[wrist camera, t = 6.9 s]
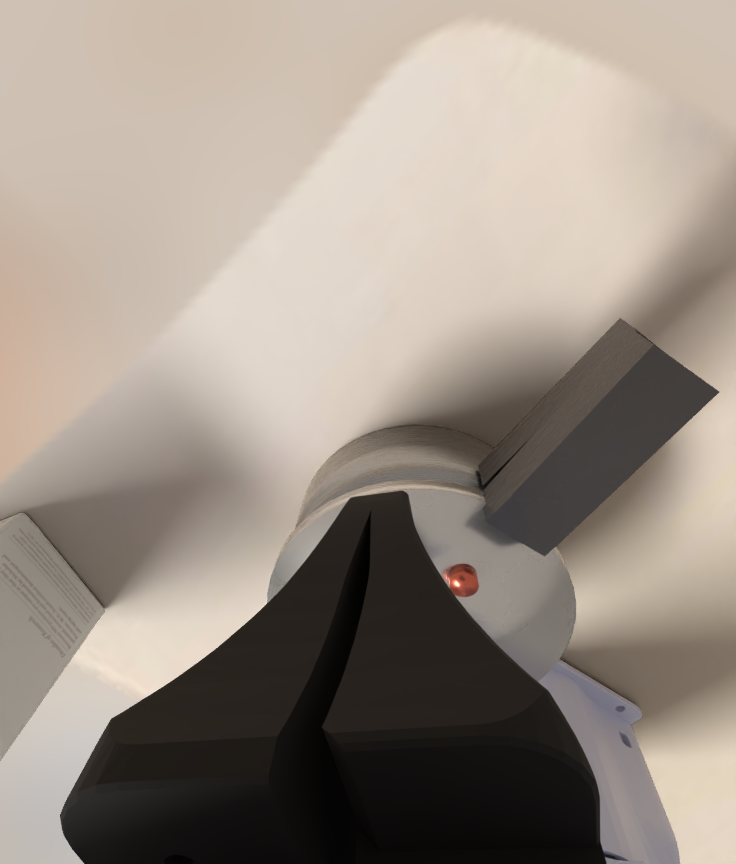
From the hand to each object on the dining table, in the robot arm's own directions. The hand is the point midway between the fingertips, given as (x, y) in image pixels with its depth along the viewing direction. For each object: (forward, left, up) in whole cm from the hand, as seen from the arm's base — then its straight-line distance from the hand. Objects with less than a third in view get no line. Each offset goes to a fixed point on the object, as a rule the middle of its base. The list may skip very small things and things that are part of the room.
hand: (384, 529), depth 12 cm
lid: (-5, +2, -6) cm, 8 cm away
